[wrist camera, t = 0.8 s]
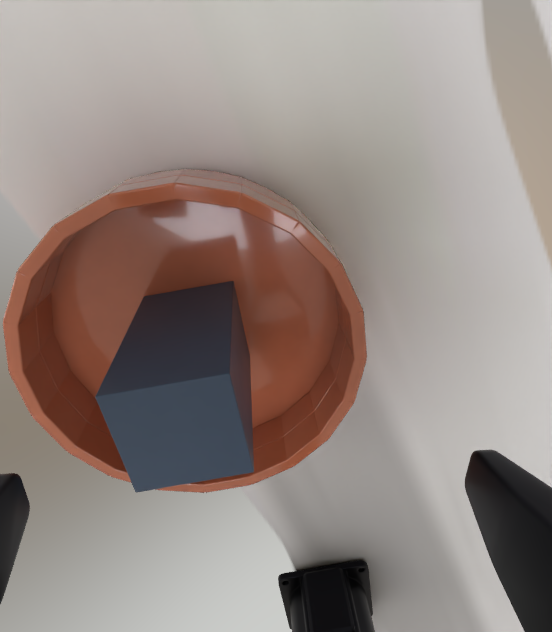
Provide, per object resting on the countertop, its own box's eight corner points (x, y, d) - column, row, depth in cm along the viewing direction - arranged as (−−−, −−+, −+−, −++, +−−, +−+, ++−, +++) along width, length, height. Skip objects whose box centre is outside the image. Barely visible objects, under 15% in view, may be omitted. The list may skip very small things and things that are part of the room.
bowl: (356, 413, 26) (375, 464, 23) (103, 457, 26) (81, 514, 23) (331, 141, 19) (351, 151, 16) (-12, 201, 19) (-69, 225, 16)
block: (250, 357, 23) (254, 472, 16) (167, 371, 23) (135, 493, 16) (233, 280, 21) (229, 373, 14) (143, 296, 21) (94, 397, 14)
